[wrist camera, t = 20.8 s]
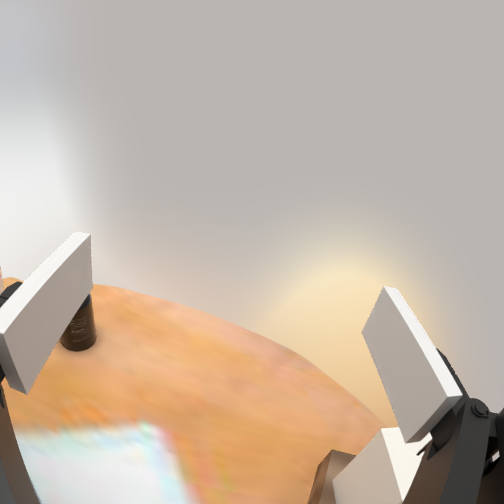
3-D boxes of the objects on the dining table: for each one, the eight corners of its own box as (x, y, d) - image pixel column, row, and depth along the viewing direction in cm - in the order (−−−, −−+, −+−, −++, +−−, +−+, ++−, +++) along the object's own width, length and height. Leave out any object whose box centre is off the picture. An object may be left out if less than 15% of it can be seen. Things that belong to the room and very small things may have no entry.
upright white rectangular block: (401, 524, 23) (467, 481, 18) (341, 536, 22) (402, 500, 17) (388, 474, 30) (442, 422, 25) (332, 480, 29) (380, 428, 24)
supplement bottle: (99, 327, 51) (95, 270, 46) (91, 354, 45) (83, 295, 40) (65, 322, 50) (57, 265, 45) (54, 347, 44) (42, 288, 39)
